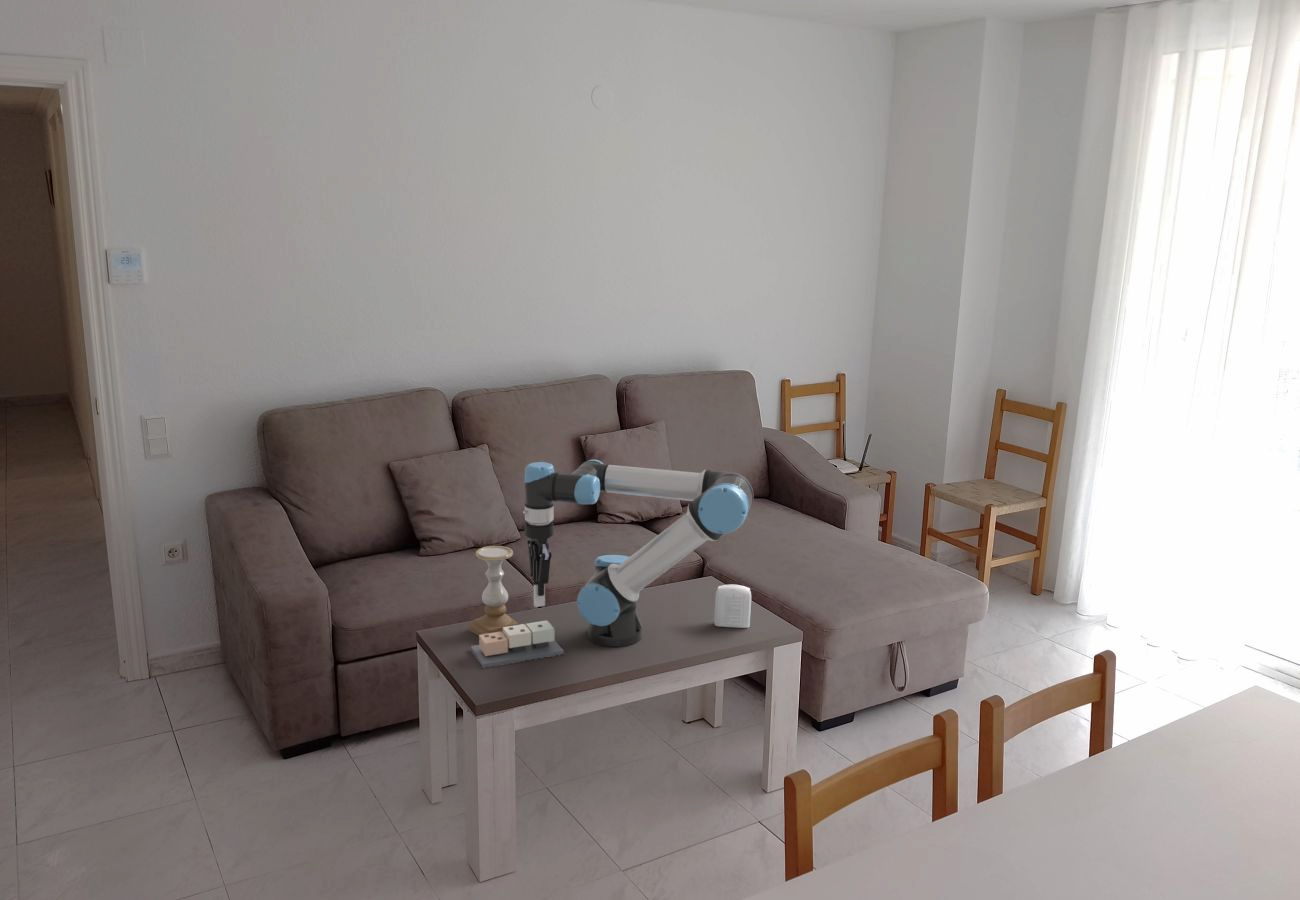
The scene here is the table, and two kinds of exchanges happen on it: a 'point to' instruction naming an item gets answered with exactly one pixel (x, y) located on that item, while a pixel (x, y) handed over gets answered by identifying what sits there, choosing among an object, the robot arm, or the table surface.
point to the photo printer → (732, 606)
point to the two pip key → (517, 635)
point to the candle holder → (493, 593)
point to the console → (518, 653)
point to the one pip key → (541, 632)
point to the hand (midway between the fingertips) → (539, 605)
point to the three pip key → (493, 643)
